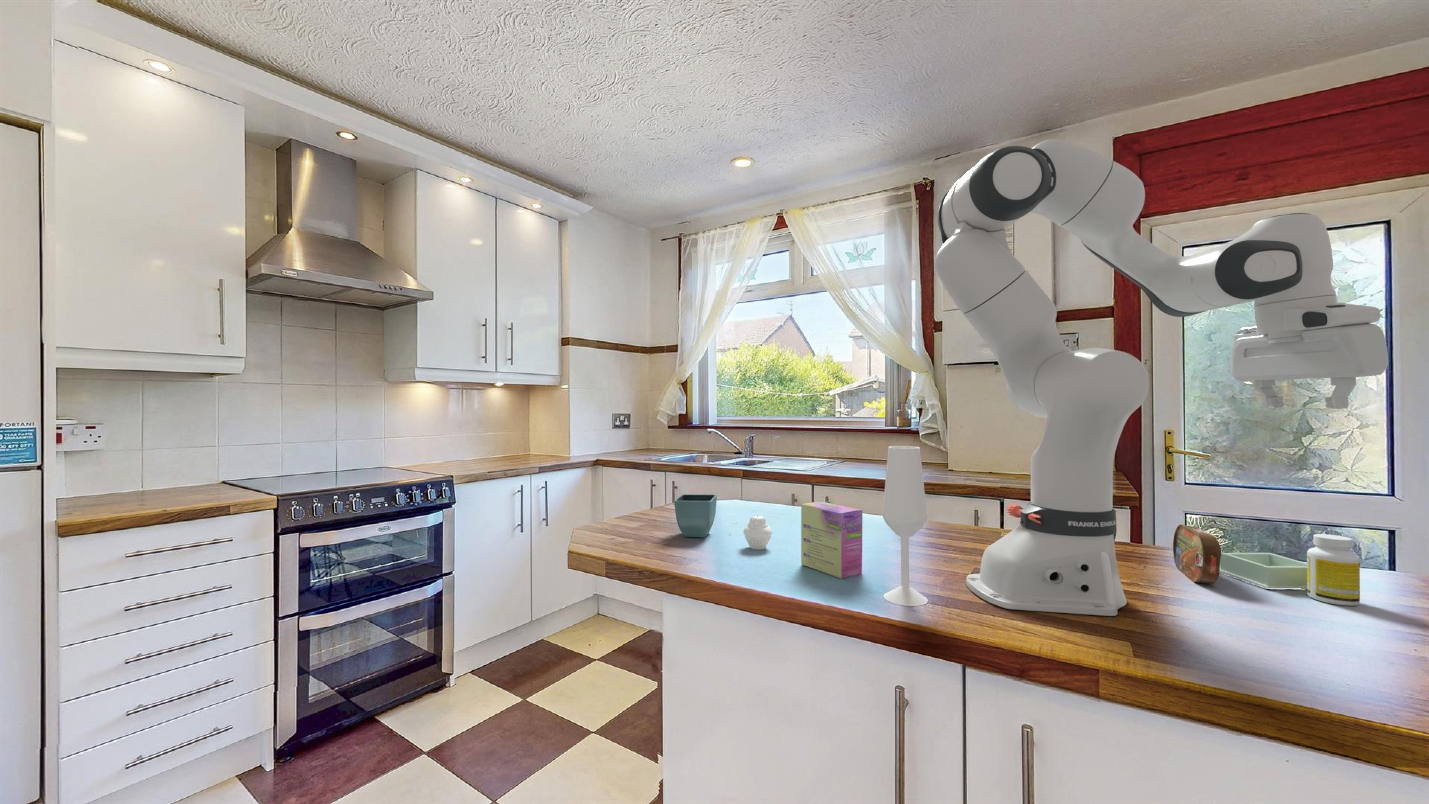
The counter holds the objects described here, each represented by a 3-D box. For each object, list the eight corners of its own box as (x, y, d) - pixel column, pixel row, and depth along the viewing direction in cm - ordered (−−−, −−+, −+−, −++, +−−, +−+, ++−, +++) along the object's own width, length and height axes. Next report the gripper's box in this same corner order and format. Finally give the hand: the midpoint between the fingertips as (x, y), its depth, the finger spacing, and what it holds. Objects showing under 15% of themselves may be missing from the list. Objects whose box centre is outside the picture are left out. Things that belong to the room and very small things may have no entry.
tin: (1171, 564, 103) (1170, 519, 103) (1192, 566, 102) (1192, 521, 102) (1200, 588, 90) (1199, 537, 90) (1225, 591, 89) (1224, 539, 89)
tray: (1267, 590, 89) (1267, 568, 89) (1217, 572, 98) (1217, 552, 98) (1326, 590, 88) (1325, 568, 88) (1270, 572, 98) (1270, 552, 98)
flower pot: (673, 539, 125) (673, 500, 125) (682, 530, 134) (681, 493, 134) (711, 540, 124) (711, 501, 124) (717, 531, 133) (717, 494, 133)
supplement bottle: (1371, 608, 81) (1371, 542, 81) (1327, 605, 82) (1326, 540, 82) (1338, 595, 86) (1337, 533, 86) (1297, 593, 87) (1296, 532, 87)
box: (863, 573, 99) (862, 508, 99) (841, 579, 96) (841, 512, 96) (822, 560, 108) (821, 500, 108) (800, 565, 105) (800, 503, 105)
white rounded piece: (757, 542, 122) (756, 511, 122) (778, 547, 117) (777, 515, 117) (737, 547, 118) (737, 515, 118) (758, 553, 113) (758, 519, 113)
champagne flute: (884, 588, 91) (883, 445, 91) (928, 593, 89) (926, 445, 89) (881, 603, 85) (880, 448, 85) (928, 608, 82) (926, 449, 82)
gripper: (1215, 330, 96) (1223, 408, 96) (1347, 311, 75) (1356, 411, 75) (1252, 326, 96) (1260, 405, 96) (1394, 306, 75) (1404, 407, 75)
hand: (1303, 408), depth 85 cm, fingers open, 8 cm apart
